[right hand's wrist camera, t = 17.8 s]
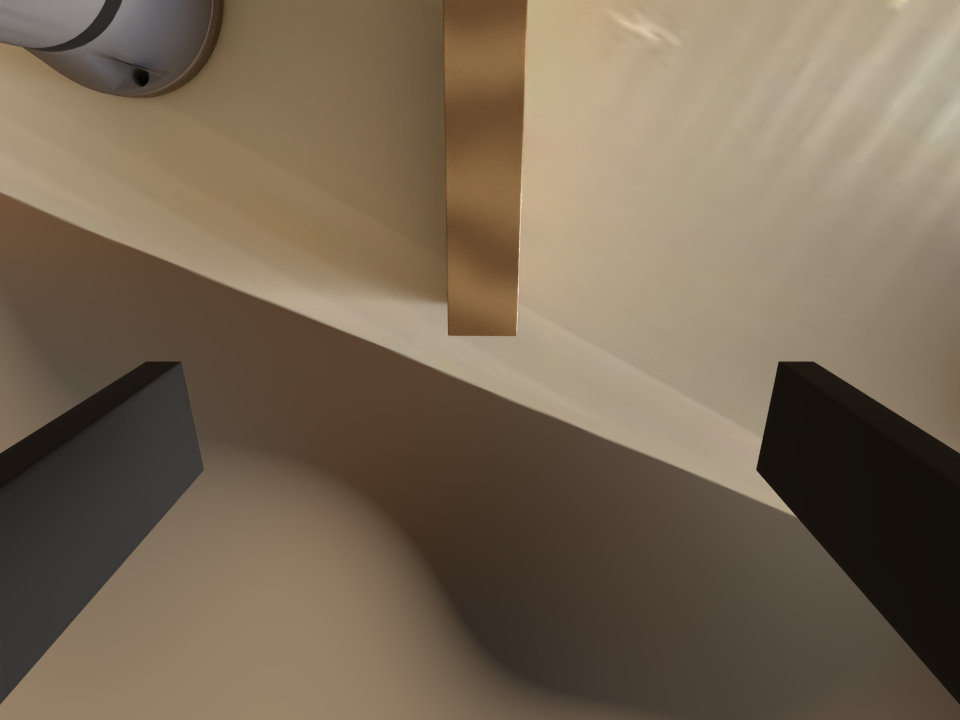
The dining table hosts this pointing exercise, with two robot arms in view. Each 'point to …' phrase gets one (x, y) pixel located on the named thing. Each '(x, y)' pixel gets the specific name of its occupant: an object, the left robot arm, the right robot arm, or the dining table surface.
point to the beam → (483, 162)
